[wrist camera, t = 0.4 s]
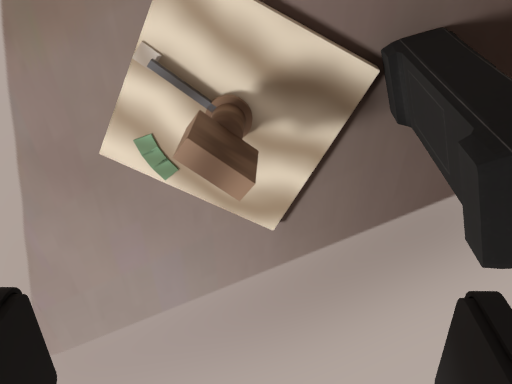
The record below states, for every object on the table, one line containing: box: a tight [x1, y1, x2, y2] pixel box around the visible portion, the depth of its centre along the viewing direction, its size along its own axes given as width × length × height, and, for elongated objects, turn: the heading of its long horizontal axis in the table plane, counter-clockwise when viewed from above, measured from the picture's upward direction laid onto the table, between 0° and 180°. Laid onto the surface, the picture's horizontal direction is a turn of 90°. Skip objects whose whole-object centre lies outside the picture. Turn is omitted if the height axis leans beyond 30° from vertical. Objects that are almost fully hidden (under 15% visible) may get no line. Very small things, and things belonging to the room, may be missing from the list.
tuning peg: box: [147, 58, 259, 201], centre depth 35 cm, size 12×4×11 cm, turn 53°
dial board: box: [99, 0, 380, 230], centre depth 42 cm, size 20×20×2 cm
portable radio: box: [381, 28, 512, 269], centre depth 29 cm, size 8×6×25 cm
